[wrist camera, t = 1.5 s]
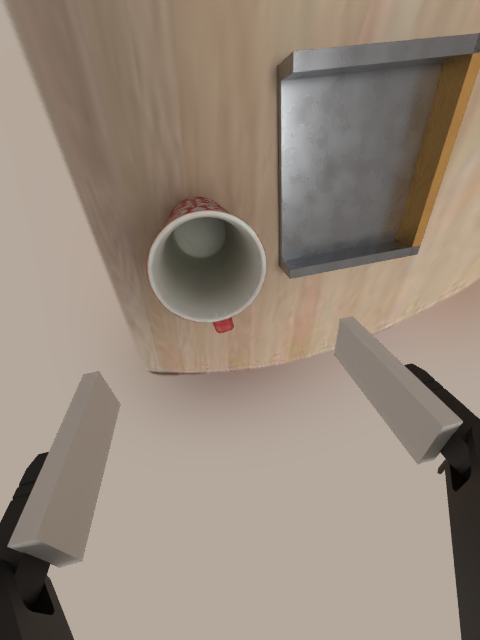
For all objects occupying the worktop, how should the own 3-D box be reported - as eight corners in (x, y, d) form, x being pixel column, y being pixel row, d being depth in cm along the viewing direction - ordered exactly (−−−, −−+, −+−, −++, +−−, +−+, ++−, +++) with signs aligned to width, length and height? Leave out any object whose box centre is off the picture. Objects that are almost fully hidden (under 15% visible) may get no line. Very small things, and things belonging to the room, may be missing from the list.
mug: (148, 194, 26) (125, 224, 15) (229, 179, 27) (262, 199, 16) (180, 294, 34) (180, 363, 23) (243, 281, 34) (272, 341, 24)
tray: (277, 65, 22) (293, 51, 19) (450, 47, 24) (491, 32, 21) (279, 266, 34) (290, 278, 31) (396, 245, 36) (417, 254, 33)
